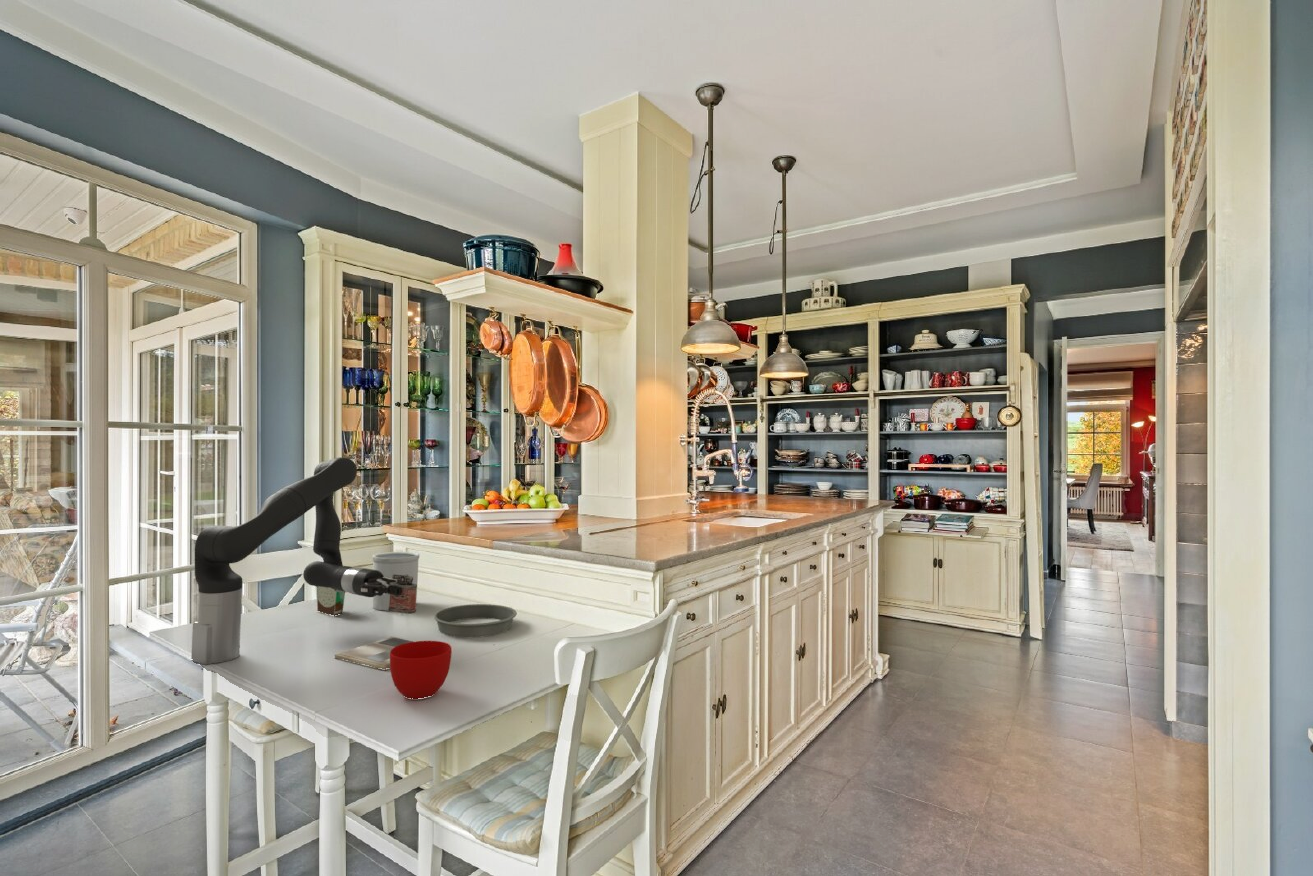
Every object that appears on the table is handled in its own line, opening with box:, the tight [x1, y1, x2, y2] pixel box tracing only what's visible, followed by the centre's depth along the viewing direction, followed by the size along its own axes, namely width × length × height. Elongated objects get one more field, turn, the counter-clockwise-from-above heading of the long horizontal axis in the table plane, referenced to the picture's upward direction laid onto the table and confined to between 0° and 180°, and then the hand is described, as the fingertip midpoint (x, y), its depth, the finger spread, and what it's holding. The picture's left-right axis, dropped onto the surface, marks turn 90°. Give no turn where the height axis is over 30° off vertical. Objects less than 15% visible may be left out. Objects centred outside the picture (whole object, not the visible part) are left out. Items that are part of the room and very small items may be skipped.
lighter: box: [387, 574, 418, 615], centre depth 174 cm, size 8×3×10 cm, turn 74°
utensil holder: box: [371, 551, 420, 612], centre depth 217 cm, size 15×15×18 cm
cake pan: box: [432, 603, 518, 638], centre depth 195 cm, size 25×25×4 cm
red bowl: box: [389, 640, 453, 699], centre depth 144 cm, size 13×17×10 cm
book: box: [334, 636, 414, 669], centre depth 168 cm, size 18×18×1 cm
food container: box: [315, 586, 346, 616], centre depth 207 cm, size 12×6×10 cm, turn 58°
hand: (406, 590), depth 173 cm, fingers closed on lighter, 3 cm apart
